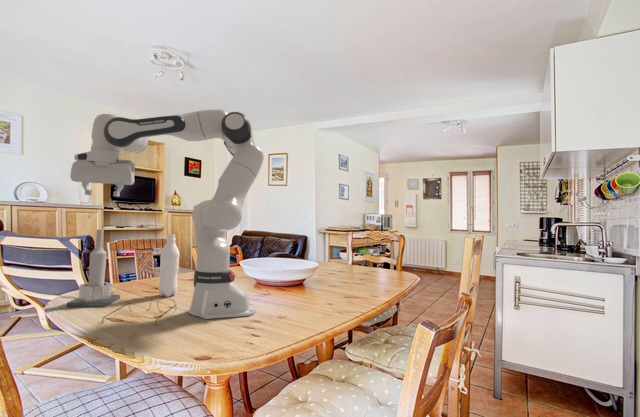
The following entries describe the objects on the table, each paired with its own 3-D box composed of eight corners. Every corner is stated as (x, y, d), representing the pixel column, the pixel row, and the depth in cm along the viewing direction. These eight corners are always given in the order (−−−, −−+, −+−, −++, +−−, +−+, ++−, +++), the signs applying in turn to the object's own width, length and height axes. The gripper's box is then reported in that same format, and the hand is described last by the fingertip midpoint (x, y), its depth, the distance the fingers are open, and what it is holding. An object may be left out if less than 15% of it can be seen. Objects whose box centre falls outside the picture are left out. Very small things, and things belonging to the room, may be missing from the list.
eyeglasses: (177, 313, 110) (178, 298, 110) (155, 327, 95) (156, 310, 95) (130, 311, 110) (131, 296, 110) (101, 325, 95) (102, 308, 95)
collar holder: (119, 298, 124) (120, 281, 124) (105, 306, 112) (106, 288, 113) (84, 298, 122) (86, 281, 122) (66, 307, 110) (67, 287, 110)
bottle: (92, 300, 114) (97, 230, 115) (83, 298, 116) (88, 229, 117) (107, 297, 119) (111, 229, 120) (97, 296, 121) (102, 229, 122)
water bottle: (161, 293, 135) (165, 233, 136) (179, 293, 136) (183, 234, 137) (155, 297, 128) (158, 234, 129) (173, 297, 129) (177, 235, 130)
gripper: (138, 162, 124) (136, 197, 124) (78, 157, 121) (76, 194, 120) (132, 159, 118) (129, 196, 118) (69, 154, 114) (66, 193, 114)
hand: (102, 195), depth 119 cm, fingers open, 8 cm apart
